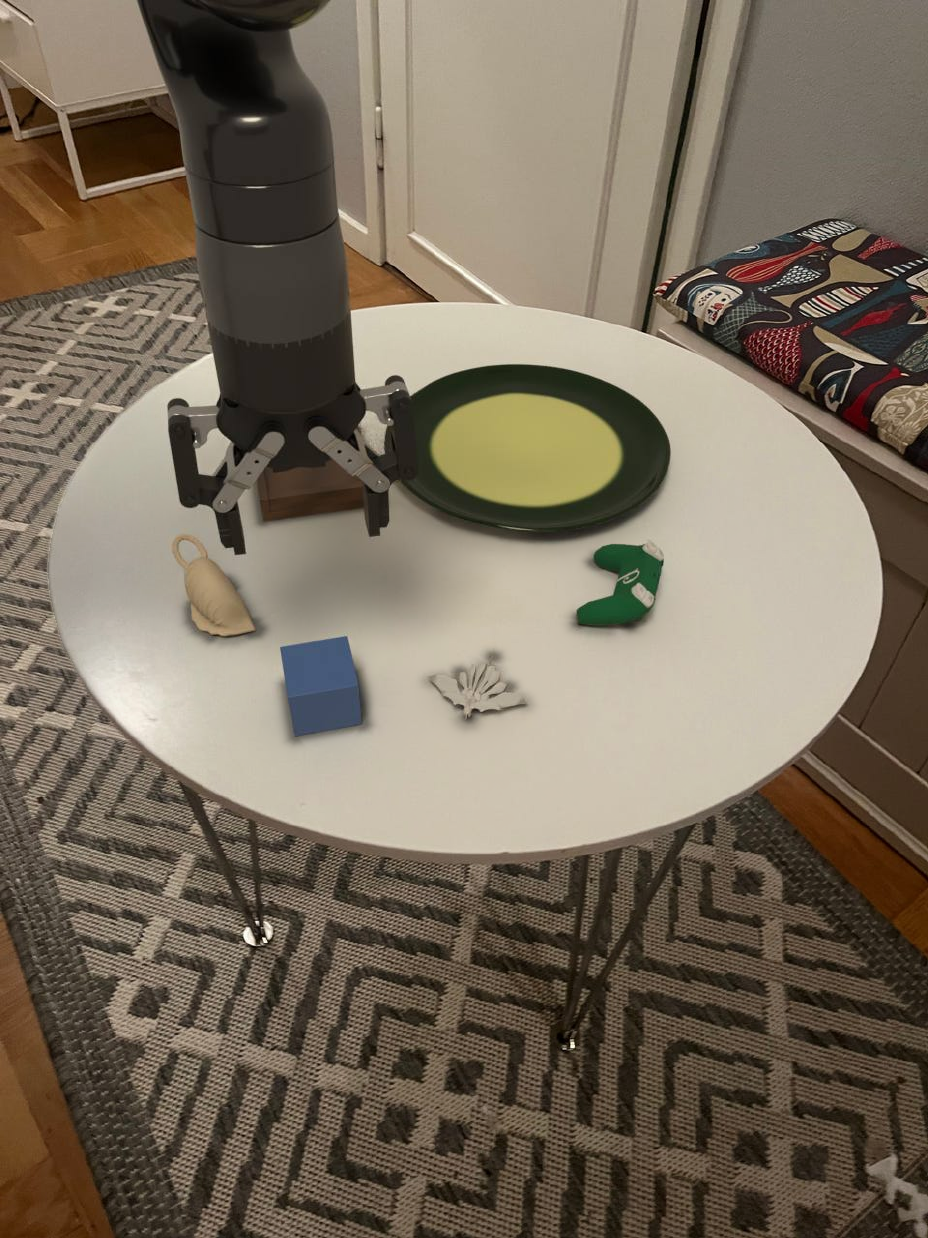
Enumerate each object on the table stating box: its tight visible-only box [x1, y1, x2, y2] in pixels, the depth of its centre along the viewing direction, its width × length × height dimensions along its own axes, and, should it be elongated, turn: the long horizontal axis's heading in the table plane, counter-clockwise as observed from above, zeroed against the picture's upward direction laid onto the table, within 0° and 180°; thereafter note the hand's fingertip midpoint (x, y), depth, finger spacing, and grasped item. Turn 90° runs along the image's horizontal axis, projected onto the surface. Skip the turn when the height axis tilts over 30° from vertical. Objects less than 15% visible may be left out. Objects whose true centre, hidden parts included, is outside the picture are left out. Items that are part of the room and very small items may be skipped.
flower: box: [427, 651, 528, 720], centre depth 73 cm, size 8×8×3 cm
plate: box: [383, 363, 672, 533], centre depth 94 cm, size 28×28×2 cm
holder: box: [255, 424, 364, 522], centre depth 91 cm, size 11×13×2 cm
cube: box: [279, 635, 363, 737], centre depth 70 cm, size 5×5×4 cm
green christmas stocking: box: [576, 539, 665, 626], centre depth 80 cm, size 9×4×6 cm
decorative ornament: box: [171, 533, 257, 637], centre depth 77 cm, size 4×8×5 cm, turn 29°
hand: (307, 537), depth 61 cm, fingers open, 8 cm apart
